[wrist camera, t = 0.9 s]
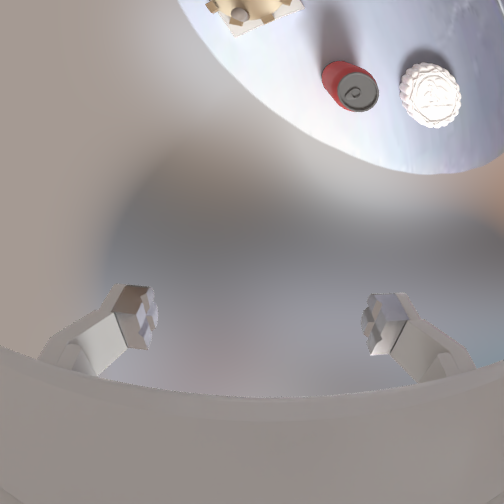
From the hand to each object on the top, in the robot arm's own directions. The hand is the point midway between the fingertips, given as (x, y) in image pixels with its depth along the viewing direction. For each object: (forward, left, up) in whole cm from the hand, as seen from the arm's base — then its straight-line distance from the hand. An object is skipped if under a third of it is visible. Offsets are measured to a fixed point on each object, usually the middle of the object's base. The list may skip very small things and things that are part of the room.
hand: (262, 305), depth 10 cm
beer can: (-10, +2, -42) cm, 43 cm away
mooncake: (-25, +9, -42) cm, 50 cm away
